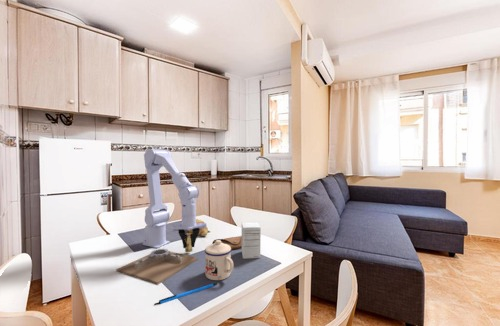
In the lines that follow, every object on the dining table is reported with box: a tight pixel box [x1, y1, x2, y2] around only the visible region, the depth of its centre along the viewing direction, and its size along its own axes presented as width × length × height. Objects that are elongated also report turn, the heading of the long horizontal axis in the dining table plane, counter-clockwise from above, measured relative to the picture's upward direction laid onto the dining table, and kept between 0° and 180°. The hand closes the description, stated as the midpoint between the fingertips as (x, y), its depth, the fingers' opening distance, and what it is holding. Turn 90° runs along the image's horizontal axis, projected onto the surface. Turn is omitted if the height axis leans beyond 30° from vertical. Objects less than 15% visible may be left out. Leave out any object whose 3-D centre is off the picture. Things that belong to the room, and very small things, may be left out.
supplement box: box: [241, 221, 262, 259], centre depth 95 cm, size 7×7×13 cm
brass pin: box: [184, 232, 193, 253], centre depth 96 cm, size 3×3×7 cm
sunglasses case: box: [211, 235, 242, 252], centre depth 104 cm, size 18×7×7 cm, turn 119°
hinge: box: [135, 248, 182, 269], centre depth 86 cm, size 14×14×2 cm
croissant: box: [187, 218, 209, 237], centre depth 125 cm, size 21×10×8 cm, turn 38°
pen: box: [153, 282, 219, 306], centre depth 68 cm, size 1×19×1 cm, turn 124°
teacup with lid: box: [204, 239, 235, 281], centre depth 78 cm, size 12×9×12 cm
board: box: [116, 250, 199, 285], centre depth 86 cm, size 20×20×1 cm
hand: (188, 246), depth 96 cm, fingers closed on brass pin, 3 cm apart
